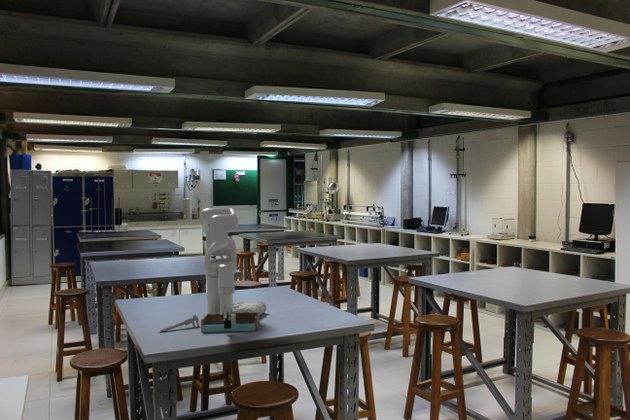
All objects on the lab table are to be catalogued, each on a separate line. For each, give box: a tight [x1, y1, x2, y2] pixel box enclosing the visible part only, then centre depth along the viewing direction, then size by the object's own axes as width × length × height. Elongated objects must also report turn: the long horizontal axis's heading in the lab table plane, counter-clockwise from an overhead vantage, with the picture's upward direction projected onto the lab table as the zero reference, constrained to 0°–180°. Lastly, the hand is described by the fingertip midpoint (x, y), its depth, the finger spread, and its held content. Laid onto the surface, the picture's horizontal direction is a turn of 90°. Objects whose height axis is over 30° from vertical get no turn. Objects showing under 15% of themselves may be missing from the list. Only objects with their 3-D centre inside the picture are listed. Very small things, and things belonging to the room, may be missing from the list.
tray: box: [201, 320, 256, 333], centre depth 247 cm, size 12×26×3 cm, turn 91°
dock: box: [200, 312, 261, 333], centre depth 248 cm, size 12×27×6 cm, turn 91°
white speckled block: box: [231, 314, 236, 324], centre depth 247 cm, size 5×5×6 cm
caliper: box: [158, 314, 200, 333], centre depth 249 cm, size 20×1×6 cm, turn 124°
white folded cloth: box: [219, 301, 267, 317], centre depth 272 cm, size 19×28×8 cm
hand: (227, 328), depth 238 cm, fingers closed
